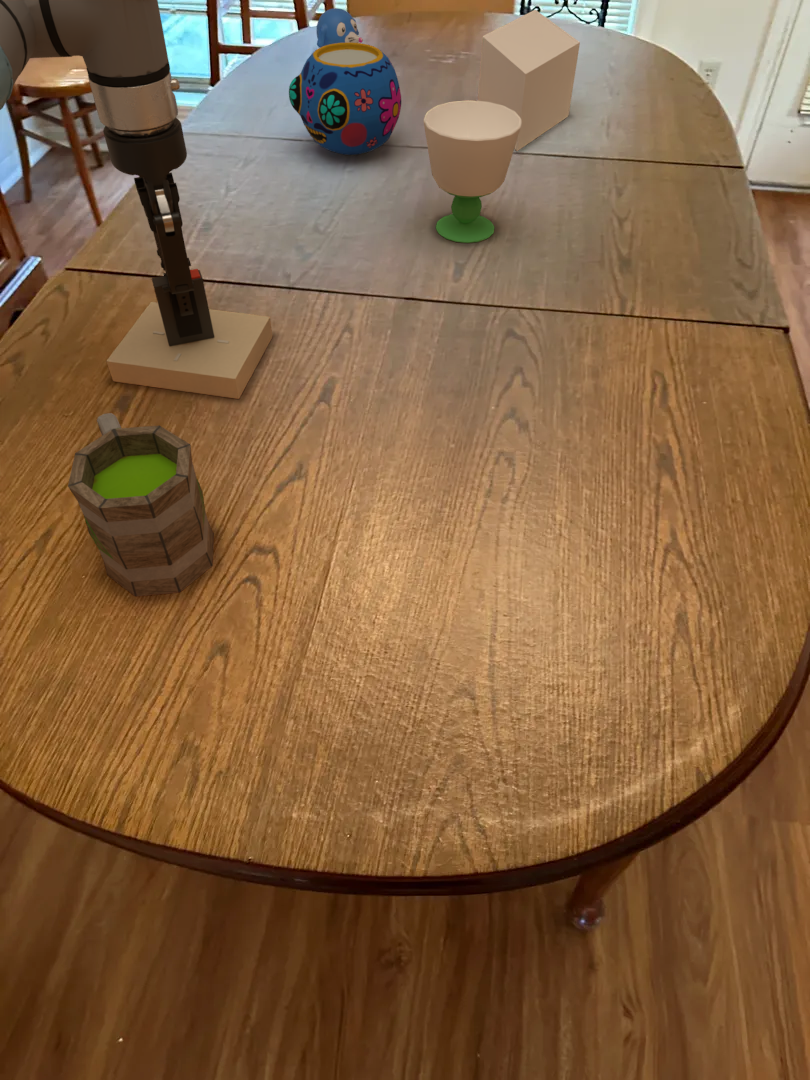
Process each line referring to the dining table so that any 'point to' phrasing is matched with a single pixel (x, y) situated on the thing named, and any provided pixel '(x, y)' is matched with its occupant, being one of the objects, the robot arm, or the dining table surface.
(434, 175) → the cup
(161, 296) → the dark brown upright block
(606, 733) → the dining table surface
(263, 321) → the tan rectangular slab
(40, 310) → the dining table surface
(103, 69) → the robot arm
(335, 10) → the blue mole toy
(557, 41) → the block
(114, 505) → the mug
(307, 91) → the ceramic pot
